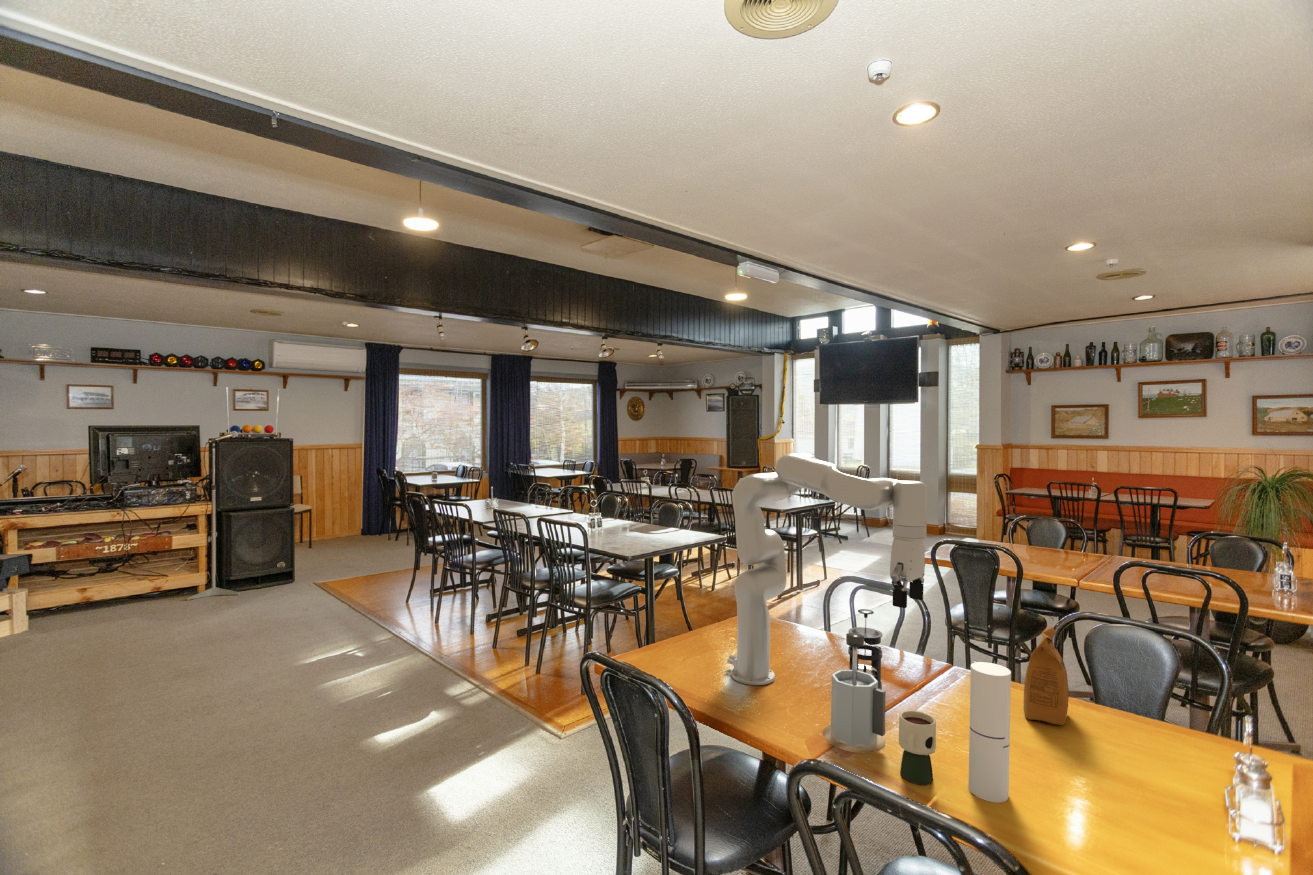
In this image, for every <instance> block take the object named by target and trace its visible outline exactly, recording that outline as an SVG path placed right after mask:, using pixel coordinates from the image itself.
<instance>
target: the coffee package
mask: <svg viewBox="0 0 1313 875" xmlns="http://www.w3.org/2000/svg"><path fill="white" fill-rule="evenodd" d="M1056 633H1057V630H1055V629H1054V627H1053V626H1048V627H1047V628H1046V629H1044V630H1043V631H1042V632H1041V635H1042V637H1041V640H1040V642H1039V643H1038V645H1037V646H1036V648H1035V649H1034V650H1033V651H1032V653H1031V655H1030V657H1029V661H1028V664H1027V666H1026V669H1025V676H1024V686H1023V713H1024V714H1023V715H1024V717H1025V718H1026V719H1028V720H1030V721H1031V720H1032V721H1033V720H1034V721H1042V722H1045V723H1048V724H1052V725H1061V726H1063V725H1064V724H1065V722H1066V720H1067V715H1068V708H1069V696H1070V691H1069V690H1070V689H1069V678H1068V673H1067V668H1066V666H1065V662H1064V660H1063V658H1062V656H1061V655H1060V653H1059V651H1058V650H1057V648H1056V647H1055V645H1054V641H1053V639H1052V638H1053V637H1054V636H1055V635H1056Z"/></svg>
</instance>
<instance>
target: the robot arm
mask: <svg viewBox="0 0 1313 875" xmlns="http://www.w3.org/2000/svg"><path fill="white" fill-rule="evenodd" d="M774 469H775V471H773V472H761V473H760V472H759V473H751V474H748V475H747V476H744V477H742V478H741V479H739V481H737V483H736V484H735V486H734V487H733V491H732V498H731V499H732V508H733V514H734V522H735V525H734V526H735V538H736V551H737V557H738V559H739V561H740V562H741V563H742V564H745V565H748V566H750V565H751V566H752V565H757V567H755V568H750V569H747V570H745V571H743V572H741V573H740V574H739V575H738V576H737V577H736V579H735V581H734V596H735V601H736V610H737V611H736V613H737V614H736V616H737V617H736V619H737V620H736V623H737V625H736V626H737V628H736V630H737V632H736V633H737V634H736V655H734V654H729V656H728V658H727V663H726V664H729V665H732V666H733V668H732V670H731V672H730V673H731V674H730V675H731V677H732V679H733V680H734V681H736V682H738V683H741V684H744V685H750V686H764V685H769V684H771V683H773V682H774V681H775V679H776V675H775V672H774V671H773V670H772V669H770V661H771V660H770V657H771V656H770V655H771V654H770V653H771V652H770V651H771V613H770V611H769V607H768V605H767V600H769V599H773V598H776V597H777V596H779V595H781V594H783V592H784V591H785V589H786V586H787V566H786V552H785V551H786V550H785V545H784V542H783V539H782V538H781V536H780V535H779V533H778V532H776V531H775V530H772V529H770V528H765V516H764V513H763V510H762V509H761V507H760V505H761V503H769V502H770V503H771V502H777V501H782V500H785V499H787V498H789V497H790V496H792V495H793V494H795V493H797V492H799V491H800V490H802V489H806V490H810V491H812V492H816V493H819V494H822V495H824V496H826V497H827V498H829V499H831V500H833V501H835V502H837V503H840V504H842V505H845V506H849V507H852V508H856V509H858V510H859V509H860V510H864V511H873V510H878V509H885V508H892V538H893V539H892V544H891V551H890V563H889V564H890V565H889V578H890V579H891V585H892V586H891V589H892V606H894V607H897V608H900V609H907V607H908V597H909V598H910V599H913V600H916V601H917V600H918V601H923V600H924V582H925V579H924V576H925V569H926V568H925V567H926V554H925V553H926V552H925V551H926V550H925V541H926V540H927V523H928V522H927V520H928V519H927V516H928V514H927V513H928V511H927V510H928V509H927V508H928V487H927V484H926V483H924V482H923V481H920V480H900V479H899V480H898V479H894V478H890V477H889V478H888V477H875V478H863V477H860V476H859V477H858V476H855V475H850V474H847V473H843V472H841V471H839V468H838V466H837V465H836V464H834V463H832V462H828V461H824V460H820V459H818V458H817V457H815V455H813V454H811V453H806V452H796V453H795V452H793V453H792V452H791V453H786V454H783V455H782V456H780V457H779V458H778V460H777V461H776V463H775V467H774ZM908 583H909V588H908V587H907V586H908ZM907 588H908V589H909V594H908V591H907V590H906V589H907ZM908 595H909V596H908Z"/></svg>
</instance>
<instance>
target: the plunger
mask: <svg viewBox="0 0 1313 875" xmlns="http://www.w3.org/2000/svg"><path fill="white" fill-rule="evenodd" d="M845 640H846V641H845V643H846V645H847V646H848V647H849V646H853V667H852V679H843V680H840V681H841V682H844V683H847V684H850V685H869V684H868V683H866V682H864V681H861V680H857V654H858V649H857V647H863V646H864V645H865V642H864V635H862V634H859V633H849V632H848V633H846V634H845Z"/></svg>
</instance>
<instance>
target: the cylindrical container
mask: <svg viewBox="0 0 1313 875" xmlns="http://www.w3.org/2000/svg"><path fill="white" fill-rule="evenodd" d="M969 678H970V681H969V682H970V684H969V685H970V686H969V688H970V689H969V730H968V731H969V734H968V736H969V740H968V742H969V743H968V784H967V786H968V790H969V792H971V793H972V794H973V796H975V797H977V798H979V799H980V800H984V801H986V802H990V803H999V804H1000V803H1004V802H1007V801H1008V800H1009V794H1010V793H1009V792H1010V790H1009V789H1010V746H1011V745H1010V742H1011V741H1010V740H1011V736H1010V735H1011V733H1010V732H1011V699H1012V698H1011V695H1012V694H1011V693H1012V692H1011V691H1012V690H1011V689H1012V686H1011V685H1012V671H1011V669H1009V668H1007V667H1006V666H1004V665H1001V664H998V663H993V662H986V661H984V662H983V661H977V662H972V663H971V664H970V677H969Z"/></svg>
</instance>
